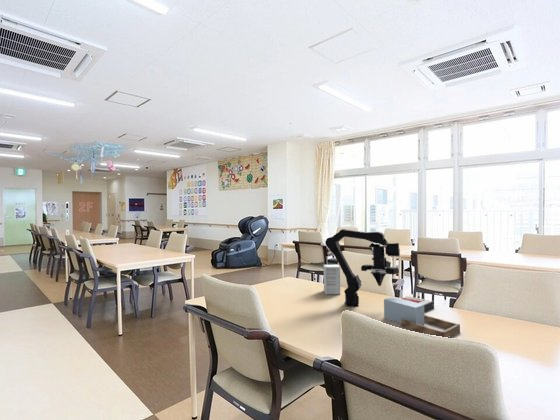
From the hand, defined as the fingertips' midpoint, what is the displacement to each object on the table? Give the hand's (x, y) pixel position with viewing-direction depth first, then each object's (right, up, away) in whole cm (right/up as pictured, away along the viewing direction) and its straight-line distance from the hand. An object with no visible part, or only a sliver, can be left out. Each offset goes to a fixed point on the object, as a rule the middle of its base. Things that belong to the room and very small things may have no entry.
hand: (379, 285), depth 159 cm
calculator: (+20, -12, +2) cm, 23 cm away
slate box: (+5, -12, -18) cm, 22 cm away
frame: (+12, -12, -27) cm, 32 cm away
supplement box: (-20, -12, +31) cm, 39 cm away
